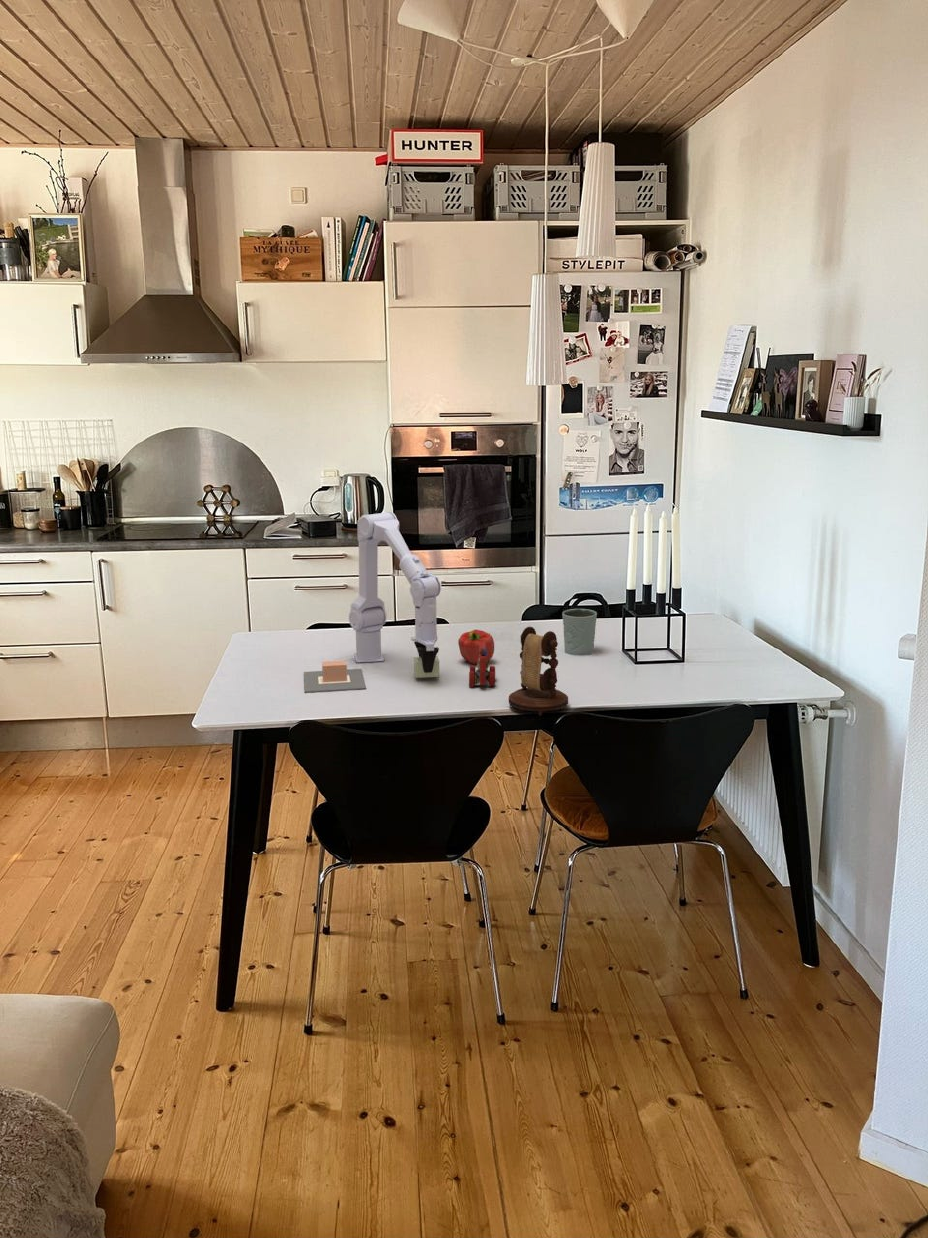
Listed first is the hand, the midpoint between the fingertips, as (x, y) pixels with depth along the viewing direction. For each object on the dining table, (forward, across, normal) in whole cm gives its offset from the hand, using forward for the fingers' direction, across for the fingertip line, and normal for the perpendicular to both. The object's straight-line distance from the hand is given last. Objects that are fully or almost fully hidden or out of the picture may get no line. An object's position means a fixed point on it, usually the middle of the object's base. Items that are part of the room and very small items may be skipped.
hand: (426, 669), depth 270 cm
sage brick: (+1, 0, 0) cm, 1 cm away
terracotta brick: (+2, -4, -25) cm, 25 cm away
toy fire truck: (+3, +7, +14) cm, 16 cm away
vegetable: (+3, -13, +16) cm, 21 cm away
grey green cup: (+3, -17, +48) cm, 51 cm away
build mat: (+3, -4, -25) cm, 25 cm away
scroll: (+3, +30, +23) cm, 38 cm away
